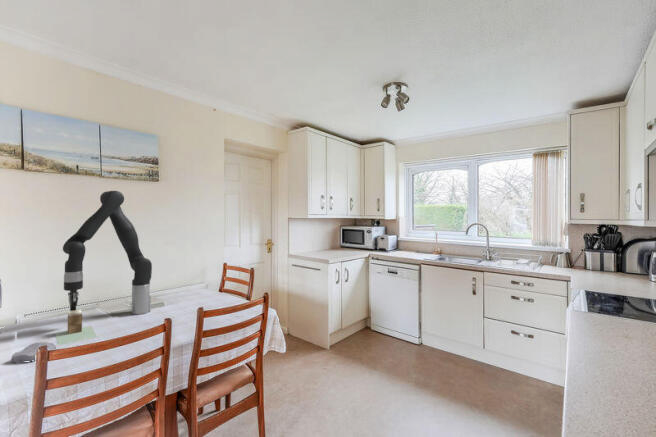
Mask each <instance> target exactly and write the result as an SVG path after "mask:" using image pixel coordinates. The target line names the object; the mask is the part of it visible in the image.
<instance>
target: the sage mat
mask: <svg viewBox="0 0 656 437" xmlns="http://www.w3.org/2000/svg"><path fill="white" fill-rule="evenodd" d="M54 334H55V338H56V342H57V346H60V345H65V344H71V343H76V342H78V341H79V342H80V341H83V340H88V339H93V338H97V337H98V335H97V334H96V332H95V330H94V328H93V327H92V325H90V326H82V332H79V333H74V334H68V329H67V330H63V331H59V332H54Z"/></svg>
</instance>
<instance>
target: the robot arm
mask: <svg viewBox="0 0 656 437" xmlns="http://www.w3.org/2000/svg"><path fill="white" fill-rule="evenodd" d="M99 199H100V201H99V202H100V203H101V205H100V207H99V208H98V209H97V210H96V211H95V212H94V213H93V214H92V215H90V217H89V218H87V219H86V220H85V221H84V222H83V223H82V225H81V226H80V227H79V229H78V230H77V231H76V232H75V233H73V235H72V236H70V237H69V238H68V239H67V240H66V241H65V243H64V244H63V245H62V251H63V252H64V253H65V254H67V255H68V257H67V258H68V259H67V260H65V262H64V274H63V290H64V291H68V292H67V296H68V303H69V309H70V310H69V311H74V310H77V306H78V302H79V297H80V293H79V291H78V290H82V289H83V288H84V273H83V271H84V270H83V264H84V263H83V262H84V259H85V256H86V255H85V254H86V246H85V244H84V243H86V242H87V241H90V240H91V239H92V238H93V237H94V236H95V234H97V232H98V230H99V229H100V228H101V227H102V225H103V224H104V223H105V221H107V219H108V218H110V219H109V220H110V221H111V224H112V226H113V228H114V231H115V233H116V236H117V238H118V241H119V242H120V244H121V246H122V247H123V250H124V251H125V254H126V256H127V259H128V262H129V266H130V268H131V270H133V271H134V274H133V275H134V276H133V277H134V278H133V279H132V280H131V314H132V315H143V314H147V313H149V312H151V300H152V298H151V297H152V296H151V295H150V292H151V291H150V290H151V289H150V287H151V279H152V274H153V273H152V271H153V264H152V261H151V260H150V259H148V258H146V257H144V254H143V253H142V251H141V249H140V245H139V244H140V242H139V236H138V233H137V230H136V228H135V226H134V224H133V223H132V222H131V221H130V219H129V218H128V217H127V216H126V214H125V213H124V212H123V210H122V207H121V205H123V203H124V202H125V197H124V194H123V193H122V192H121V191H118V190H108V191H104V192H102V193H101V194H100V197H99Z"/></svg>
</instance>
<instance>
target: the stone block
mask: <svg viewBox="0 0 656 437" xmlns="http://www.w3.org/2000/svg"><path fill="white" fill-rule="evenodd" d="M43 345H48V349H49V350H53V349H55V350H56V349H57V347H56V346H57V345H56V344H54V343H53V342H51V343H50V342H47V341H40V342H34V343H30V345H27V346H26V347H25V348H23V349H22V350H21V351H18V352H14V353H13V354H12V355H11V359H10V360H11V362H12V363H13V364H15V362H22V363H24V362H23V361H32V360H34V361H33V362H35V361H36V360H35V355H36V350H37V348H38V347H40V346H43Z"/></svg>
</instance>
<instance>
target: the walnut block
mask: <svg viewBox="0 0 656 437" xmlns="http://www.w3.org/2000/svg"><path fill="white" fill-rule="evenodd" d="M82 328H83V311H82V309H76V310H74V311H70V310H68V311H67V330H68V334H74V333H79V332H82Z"/></svg>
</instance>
